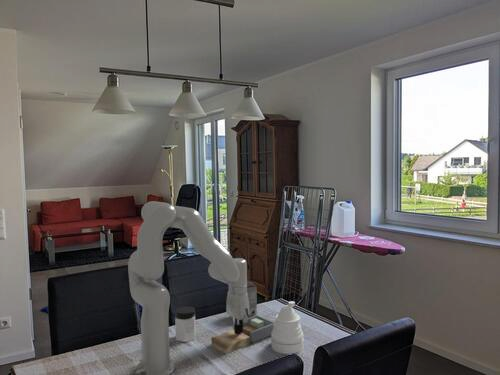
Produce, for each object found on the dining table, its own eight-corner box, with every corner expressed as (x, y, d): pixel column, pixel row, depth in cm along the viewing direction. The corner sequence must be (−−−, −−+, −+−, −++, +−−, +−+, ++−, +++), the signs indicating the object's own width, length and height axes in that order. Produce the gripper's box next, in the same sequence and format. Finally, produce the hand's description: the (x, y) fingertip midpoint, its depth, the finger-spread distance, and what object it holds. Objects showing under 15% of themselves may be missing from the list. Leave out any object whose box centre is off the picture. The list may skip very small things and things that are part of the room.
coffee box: (237, 314, 192) (236, 281, 191) (249, 311, 195) (248, 279, 194) (245, 320, 184) (244, 286, 183) (257, 318, 187) (256, 284, 186)
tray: (251, 344, 159) (251, 332, 159) (233, 335, 169) (233, 323, 168) (276, 334, 169) (276, 322, 168) (257, 325, 178) (257, 315, 177)
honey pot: (305, 340, 162) (305, 297, 161) (301, 355, 150) (300, 309, 149) (275, 337, 166) (274, 295, 164) (268, 352, 153) (267, 306, 152)
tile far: (258, 323, 166) (263, 321, 168) (250, 319, 170) (255, 318, 172) (258, 334, 167) (263, 332, 169) (250, 331, 170) (256, 329, 172)
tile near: (249, 338, 163) (249, 331, 163) (241, 334, 167) (241, 327, 167) (258, 334, 167) (258, 328, 166) (250, 331, 170) (250, 324, 170)
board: (226, 353, 152) (226, 346, 152) (211, 344, 160) (211, 337, 160) (250, 343, 160) (250, 336, 160) (234, 336, 168) (234, 329, 168)
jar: (180, 344, 161) (179, 315, 161) (172, 337, 168) (171, 309, 167) (199, 338, 166) (199, 310, 165) (191, 331, 173) (190, 304, 172)
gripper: (219, 287, 165) (220, 330, 166) (242, 295, 153) (243, 341, 155) (233, 283, 170) (234, 325, 171) (257, 291, 158) (257, 336, 159)
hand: (238, 332), depth 163 cm, fingers closed
